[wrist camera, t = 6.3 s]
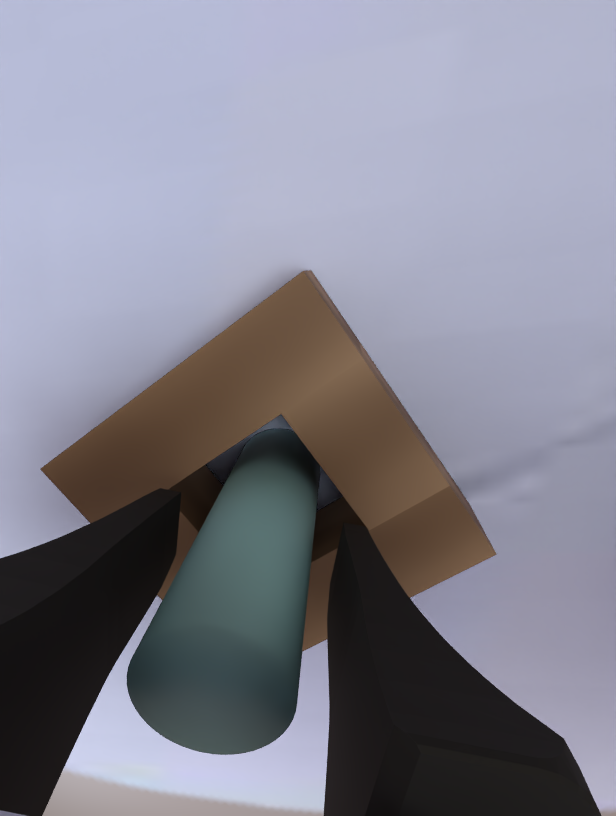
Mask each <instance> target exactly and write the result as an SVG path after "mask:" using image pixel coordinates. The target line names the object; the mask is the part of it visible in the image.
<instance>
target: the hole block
mask: <svg viewBox="0 0 616 816" xmlns="http://www.w3.org/2000/svg"><path fill="white" fill-rule="evenodd" d="M280 414H282V416H283V417H284V418H285V420H286V421H287V422H288V424H289V425H290V426H291V428H292V429H293V430H294V432H295V433H296V434H297V436H298V437H299V438H300V440H301V441H302V442H303V443H304V445H305V446H306V447H307V449H308V450H309V451H310V453H311V454H312V455H313V457H314V458H315V459H316V461H317V462H318V463H319V465H320V466H321V467H322V469H323V470H324V471H325V473H326V474H327V475H328V477H329V478H330V479H331V481H332V482H333V483H334V485H335V486H336V487H337V489H338V490H339V491H340V493H341V494H342V495H343V497H341V498H340V499H338V500H336V501H335V502H333V503H331V504H329V505H328V506H326V507H324V508H323V509H321V510H319V511H318V512H316V519H315V529H314V539H313V549H312V559H311V569H310V579H309V588H308V598H307V608H306V618H305V628H304V638H303V648H302V651H304V650H306V649H308V648H310V647H312V646H314V645H316V644H318V643H320V642H322V641H324V640H326V639H328V638H327V612H328V600H329V588H330V581H331V576H332V572H333V567H334V563H335V558H336V554H337V549H338V545H339V540H340V536H341V531H342V527H343V522H344V523H349V524H355V525H360V526H365V527H366V528H367V529H368V531H369V533H370V535H371V537H372V538H373V540H374V542H375V544H376V546H377V548H378V549H379V551H380V553H381V555H382V556H383V558H384V560H385V561H386V563H387V565H388V566H389V568H390V570H391V571H392V573H393V574H394V576H395V577H396V579H397V581H398V582H399V584H400V585H401V587H402V588H403V589H404V591H405V592H406V594H407V595H408V596H409V598H410V597H412V596H414V595H416V594H418V593H420V592H422V591H424V590H426V589H428V588H430V587H432V586H434V585H436V584H438V583H440V582H442V581H444V580H446V579H448V578H450V577H452V576H454V575H456V574H458V573H460V572H462V571H464V570H466V569H468V568H470V567H472V566H474V565H476V564H478V563H480V562H482V561H484V560H486V559H488V558H490V557H492V556H494V555H496V552H495V551H494V549H493V547H492V545H491V543H490V541H489V539H488V538H487V536H486V534H485V532H484V530H483V528H482V526H481V525H480V523H479V521H478V519H477V517H476V515H475V514H474V512H473V510H472V508H471V506H470V504H469V503H468V501H467V500H466V498H465V497H464V495H463V494H462V492H461V491H460V489H459V488H458V486H457V485H456V483H455V482H454V480H453V479H452V477H451V476H450V475H449V473H448V472H447V470H446V469H445V467H444V466H443V464H442V463H441V461H440V460H439V458H438V457H437V455H436V454H435V452H434V451H433V449H432V448H431V446H430V445H429V444H428V442H427V441H426V439H425V438H424V436H423V435H422V433H421V432H420V430H419V429H418V427H417V426H416V424H415V423H414V421H413V420H412V418H411V417H410V415H409V414H408V413H407V411H406V410H405V408H404V407H403V405H402V404H401V402H400V401H399V399H398V398H397V396H396V395H395V393H394V392H393V390H392V389H391V387H390V386H389V384H388V383H387V382H386V380H385V379H384V377H383V376H382V374H381V373H380V371H379V370H378V368H377V367H376V365H375V364H374V362H373V361H372V359H371V358H370V356H369V355H368V353H367V352H366V350H365V349H364V348H363V346H362V345H361V343H360V342H359V340H358V339H357V337H356V336H355V334H354V333H353V331H352V330H351V328H350V327H349V325H348V324H347V322H346V321H345V319H344V318H343V317H342V315H341V314H340V312H339V311H338V309H337V308H336V306H335V305H334V303H333V302H332V300H331V299H330V297H329V296H328V294H327V293H326V291H325V290H324V288H323V287H322V286H321V284H320V283H319V281H318V280H317V278H316V277H315V275H314V274H313V272H312V271H311V270H310V271H303V272H301V273H300V274H299V275H297V276H296V277H295V278H293V279H292V280H291V281H289V282H288V283H287V284H285V285H284V286H283V287H281V288H280V289H279V290H277V291H276V292H275V293H273V294H272V295H271V296H270V297H268V298H267V299H266V300H264V301H263V302H262V303H260V304H259V305H258V306H256V307H255V308H254V309H252V310H251V311H250V312H248V313H247V314H246V315H244V316H243V317H242V318H240V319H239V320H238V321H236V322H235V323H234V324H232V325H231V326H230V327H228V328H227V329H226V330H224V331H223V332H222V333H220V334H219V335H218V336H216V337H215V338H214V339H212V340H211V341H210V342H208V343H207V344H206V345H204V346H203V347H202V348H200V349H199V350H198V351H196V352H195V353H194V354H192V355H191V356H190V357H188V358H187V359H186V360H184V361H183V362H182V363H180V364H179V365H178V366H176V367H175V368H174V369H172V370H171V371H170V372H168V373H167V374H166V375H164V376H163V377H162V378H161V379H159V380H158V381H157V382H155V383H154V384H153V385H151V386H150V387H149V388H147V389H146V390H145V391H143V392H142V393H141V394H139V395H138V396H137V397H135V398H134V399H133V400H131V401H130V402H129V403H127V404H126V405H125V406H123V407H122V408H121V409H119V410H118V411H117V412H115V413H114V414H113V415H111V416H110V417H109V418H107V419H106V420H105V421H103V422H102V423H101V424H99V425H98V426H97V427H95V428H94V429H93V430H91V431H90V432H89V433H87V434H86V435H85V436H83V437H82V438H81V439H79V440H78V441H77V442H75V443H74V444H73V445H71V446H70V447H69V448H67V449H66V450H65V451H63V452H62V453H61V454H59V455H58V456H57V457H55V458H54V459H53V460H52V461H50V462H49V463H48V464H46V465H45V466H44V467H42V468H41V471H42V472H43V473H44V474H45V475H46V476H47V477H48V478H49V479H50V480H51V481H52V482H53V483H54V484H55V486H56V487H57V488H58V489H59V490H60V491H61V492H62V493H63V494H64V495H65V496H66V497H67V498H68V500H69V501H70V502H71V503H72V504H73V505H74V506H75V507H76V508H77V509H78V510H79V511H80V512H81V513H82V515H83V516H84V517H85V518H86V519H87V520H88V521H89V522H90V523H92V522H95V521H97V520H99V519H101V518H103V517H105V516H107V515H109V514H111V513H113V512H115V511H117V510H119V509H120V508H122V507H124V506H126V505H128V504H130V503H132V502H134V501H136V500H137V499H139V498H141V497H143V496H145V495H147V494H149V493H151V492H153V491H155V490H157V489H159V488H162V489H167V490H173V491H178V492H181V504H180V516H179V528H178V539H177V551H176V556H175V558H174V561H173V563H172V565H171V568H170V570H169V572H168V574H167V576H166V579H165V581H164V583H163V585H162V587H161V589H160V591H159V592H158V594H157V595H158V596H159V597H160V598H161V599H162V600H163V599H164V597H165V595H166V593H167V591H168V589H169V587H170V586H171V584H172V582H173V580H174V578H175V576H176V574H177V572H178V570H179V569H180V567H181V565H182V563H183V561H184V559H185V557H186V555H187V554H188V552H189V550H190V548H191V546H192V544H193V542H194V540H195V539H196V537H197V535H198V533H199V531H200V529H201V527H202V525H203V524H204V522H205V520H206V518H207V516H208V514H209V512H210V510H211V509H212V507H213V505H214V503H215V501H216V499H217V497H218V495H219V494H220V492H221V490H222V488H223V486H222V485H221V483H220V482H219V481H218V480H217V479H216V477H215V476H214V475H213V474H212V473H211V471H210V470H209V469H208V468H207V466H206V465H205V464H207V463H208V462H210V461H211V460H213V459H214V458H216V457H217V456H219V455H220V454H222V453H223V452H225V451H226V450H228V449H229V448H231V447H232V446H234V445H235V444H237V443H238V442H240V441H241V440H243V439H244V438H246V437H247V436H249V435H250V434H252V433H253V432H255V431H256V430H258V429H259V428H261V427H262V426H264V425H265V424H267V423H268V422H270V421H271V420H273V419H274V418H276V417H277V416H279V415H280Z"/></svg>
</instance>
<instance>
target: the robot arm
mask: <svg viewBox="0 0 616 816" xmlns="http://www.w3.org/2000/svg"><path fill="white" fill-rule="evenodd" d="M180 504H181V492H178V491H173V490H167V489H162V488H159V489H157V490H155V491H153V492H151V493H149V494H147V495H145V496H143V497H141V498H139V499H137V500H136V501H134V502H132V503H130V504H128V505H126V506H124V507H122V508H120V509H119V510H117V511H115V512H113V513H111V514H109V515H107V516H105V517H103V518H101V519H99V520H97V521H95V522H92V523H90V524H88V525H86V526H84V527H82V528H80V529H77V530H75V531H73V532H71V533H69V534H67V535H64V536H62V537H59V538H57V539H55V540H52V541H50V542H47V543H44V544H42V545H39V546H36V547H33V548H31V549H28V550H25V551H22V552H19V553H17V554H13V555H10V556H7V557H3V558H0V816H42V815H43V812H44V810H45V808H46V806H47V804H48V802H49V799H50V797H51V795H52V793H53V790H54V788H55V786H56V784H57V782H58V779H59V777H60V775H61V773H62V770H63V768H64V766H65V764H66V762H67V760H68V758H69V755H70V753H71V751H72V749H73V747H74V745H75V743H76V741H77V739H78V736H79V734H80V732H81V730H82V728H83V726H84V724H85V722H86V719H87V717H88V715H89V713H90V711H91V709H92V707H93V705H94V703H95V701H96V699H97V697H98V695H99V693H100V691H101V689H102V687H103V685H104V683H105V681H106V679H107V677H108V675H109V673H110V672H111V670H112V668H113V666H114V665H115V663H116V661H117V659H118V658H119V656H120V654H121V653H122V651H123V650H124V648H125V646H126V645H127V643H128V641H129V640H130V638H131V637H132V635H133V633H134V632H135V630H136V628H137V627H138V625H139V624H140V622H141V620H142V619H143V617H144V615H145V614H146V612H147V611H148V609H149V607H150V606H151V604H152V602H153V601H154V599H155V597H156V596H157V594H158V592H159V591H160V589H161V587H162V585H163V583H164V581H165V579H166V576H167V574H168V572H169V570H170V568H171V565H172V563H173V561H174V558H175V556H176V551H177V539H178V528H179V516H180ZM327 638H328V669H329V700H330V714H329V739H328V757H327V773H326V789H325V804H324V816H601V814H600V811H599V809H598V807H597V805H596V803H595V801H594V799H593V797H592V794H591V792H590V790H589V788H588V785H587V783H586V781H585V779H584V777H583V774H582V772H581V770H580V768H579V766H578V764H577V762H576V760H575V759H574V757H573V755H572V753H571V751H570V749H569V747H568V746H567V744H566V742H565V740H564V738H562V737H561V736H559V735H558V734H557V733H555V732H554V731H553V730H551V729H550V728H549V727H547V726H546V725H544V724H543V723H542V722H540V721H539V720H538V719H536V718H535V717H533V716H532V715H531V714H529V713H528V712H527V711H525V710H524V709H523V708H521V707H520V706H518V705H517V704H516V703H515V702H513V701H512V700H511V699H510V698H508V697H507V696H506V695H505V694H504V693H502V692H501V691H500V690H499V689H498V688H496V687H495V686H494V685H493V684H492V683H490V682H489V681H488V680H487V679H486V678H484V677H483V676H482V675H481V674H480V673H479V672H478V671H477V670H476V669H474V668H473V667H472V666H471V665H470V664H469V663H468V662H467V661H466V660H465V659H464V658H463V657H462V656H461V655H460V654H459V653H458V652H457V651H456V650H455V649H454V648H453V647H452V646H450V644H449V643H448V642H447V641H446V640H445V639H444V638H443V637H442V636H441V635H440V634H439V633H438V632H437V631H436V629H435V628H434V627H433V626H432V625H431V624H430V623H429V621H428V620H427V619H426V618H425V617H424V616H423V615H422V613H421V612H420V611H419V610H418V608H417V607H416V606H415V605H414V603H413V602H412V601H411V599H410V598H409V596H408V595H407V594H406V592H405V591H404V589H403V588H402V587H401V585H400V584H399V582H398V581H397V579H396V577H395V576H394V574H393V573H392V571H391V570H390V568H389V566H388V565H387V563H386V561H385V560H384V558H383V556H382V555H381V553H380V551H379V549H378V548H377V546H376V544H375V542H374V540H373V538H372V537H371V535H370V533H369V531H368V529H367V528H366V527H365V526H360V525H355V524H349V523H344V522H343V527H342V531H341V536H340V540H339V545H338V549H337V554H336V558H335V563H334V567H333V572H332V576H331V581H330V588H329V600H328V612H327Z"/></svg>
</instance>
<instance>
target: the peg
mask: <svg viewBox="0 0 616 816" xmlns="http://www.w3.org/2000/svg"><path fill="white" fill-rule="evenodd" d="M319 479H320V465H319V463H318V462H317V461H316V459H315V458H314V457H313V455H312V454H311V453H310V451H309V450H308V449H307V447H306V446H305V445H304V443H303V442H302V441H301V440H300V438H299V437H298V436H297V434H296V433H295V432H293V431H290V430H286V429H270V430H266V431H263V432H260V433H259V434H257V435H255V436H254V437H252V438H251V439H250V440H249V441H248V442H247V444H246V445H245V447H244V448H243V450H242V452H241V454H240V456H239V458H238V460H237V462H236V463H235V465H234V467H233V469H232V471H231V473H230V475H229V477H228V478H227V480H226V482H225V484H224V486H223V488H222V490H221V492H220V494H219V495H218V497H217V499H216V501H215V503H214V505H213V507H212V509H211V510H210V512H209V514H208V516H207V518H206V520H205V522H204V524H203V525H202V527H201V529H200V531H199V533H198V535H197V537H196V539H195V540H194V542H193V544H192V546H191V548H190V550H189V552H188V554H187V555H186V557H185V559H184V561H183V563H182V565H181V567H180V569H179V570H178V572H177V574H176V576H175V578H174V580H173V582H172V584H171V586H170V587H169V589H168V591H167V593H166V595H165V597H164V599H163V601H162V602H161V604H160V606H159V608H158V610H157V612H156V614H155V616H154V617H153V619H152V621H151V623H150V625H149V627H148V629H147V631H146V632H145V634H144V636H143V638H142V640H141V642H140V644H139V646H138V647H137V649H136V651H135V653H134V655H133V657H132V659H131V661H130V664H129V667H128V672H127V687H128V693H129V696H130V698H131V701H132V703H133V705H134V707H135V709H136V710H137V712H138V713H139V715H140V716H141V717H142V718H143V719H144V721H145V722H146V723H147V724H148V725H149V726H150V727H152V728H153V729H154V730H155V731H156V732H158V733H159V734H160V735H162V736H163V737H165V738H167V739H168V740H170V741H172V742H174V743H176V744H178V745H181V746H183V747H186V748H189V749H192V750H195V751H199V752H204V753H210V754H221V755H227V754H240V753H246V752H250V751H254V750H257V749H259V748H262V747H264V746H266V745H268V744H270V743H272V742H273V741H275V740H276V739H277V738H279V737H280V736H281V735H282V734H283V733H284V732H285V731H286V729H287V728H288V727H289V725H290V723H291V722H292V720H293V718H294V715H295V712H296V706H297V698H298V688H299V678H300V668H301V658H302V648H303V638H304V628H305V618H306V608H307V598H308V588H309V579H310V569H311V559H312V549H313V539H314V529H315V519H316V509H317V499H318V489H319Z"/></svg>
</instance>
